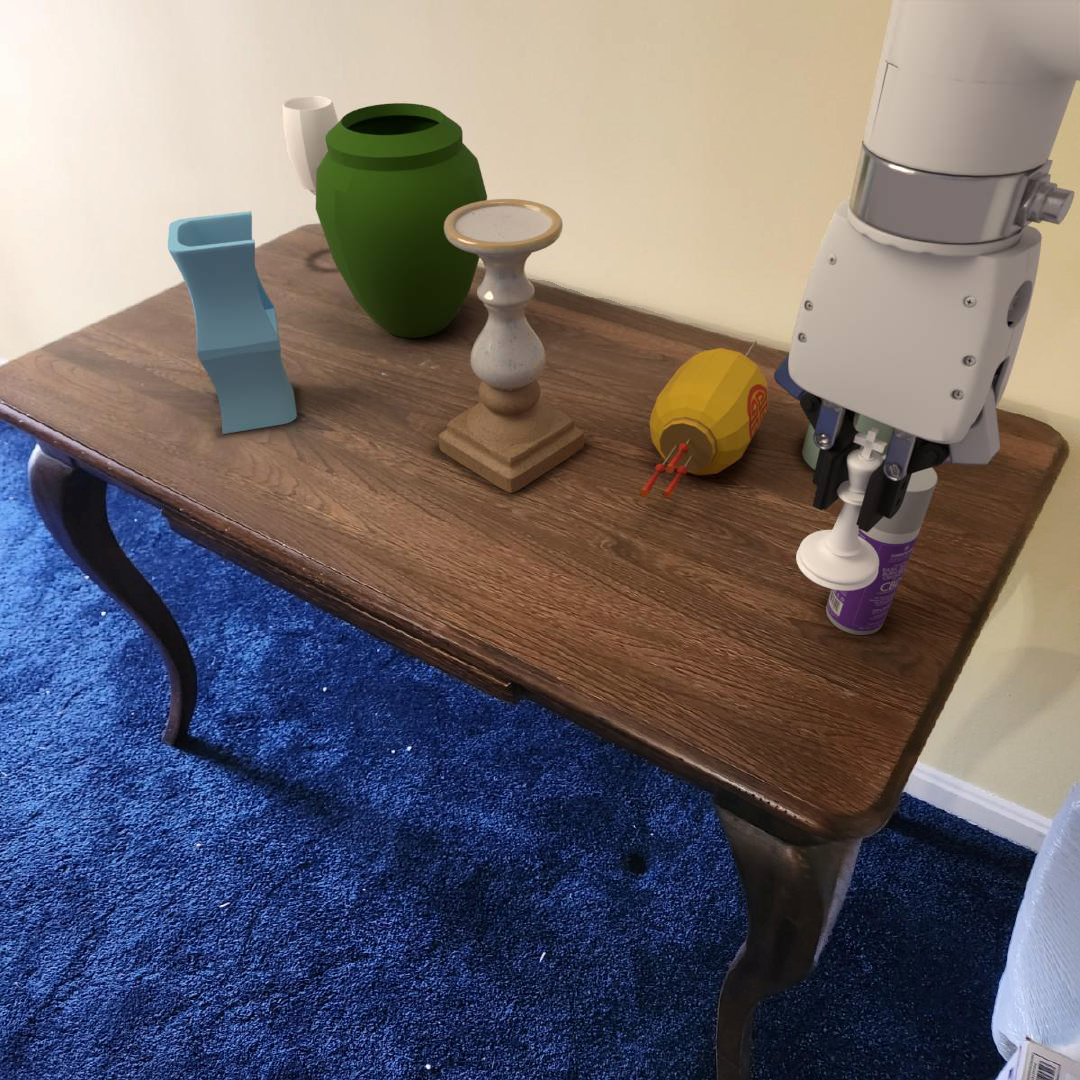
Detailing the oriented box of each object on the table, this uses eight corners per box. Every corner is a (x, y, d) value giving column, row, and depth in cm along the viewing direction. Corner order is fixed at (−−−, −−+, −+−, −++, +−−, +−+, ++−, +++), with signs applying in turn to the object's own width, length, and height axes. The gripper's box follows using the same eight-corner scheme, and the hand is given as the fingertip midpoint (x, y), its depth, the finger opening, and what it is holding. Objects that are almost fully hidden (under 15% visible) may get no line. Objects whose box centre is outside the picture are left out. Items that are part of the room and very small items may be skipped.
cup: (366, 250, 125) (343, 95, 111) (351, 272, 120) (326, 112, 106) (318, 247, 126) (289, 93, 112) (302, 269, 121) (269, 110, 107)
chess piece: (856, 603, 51) (898, 468, 44) (781, 567, 53) (811, 434, 47) (891, 559, 54) (936, 425, 47) (818, 526, 56) (852, 395, 49)
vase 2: (298, 422, 93) (255, 242, 79) (222, 434, 91) (166, 253, 78) (292, 384, 98) (251, 210, 85) (221, 395, 97) (168, 220, 83)
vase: (331, 299, 114) (294, 100, 97) (475, 280, 118) (463, 86, 101) (346, 374, 100) (306, 157, 84) (509, 350, 104) (501, 138, 87)
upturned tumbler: (855, 428, 91) (877, 353, 85) (898, 473, 86) (925, 396, 79) (787, 441, 90) (805, 365, 84) (826, 487, 84) (848, 410, 78)
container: (871, 644, 69) (926, 501, 59) (816, 618, 71) (860, 476, 61) (892, 610, 72) (948, 468, 62) (838, 586, 74) (885, 444, 64)
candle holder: (511, 495, 83) (501, 260, 67) (437, 449, 89) (411, 221, 73) (586, 446, 89) (594, 219, 73) (512, 406, 95) (504, 186, 79)
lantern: (700, 452, 70) (797, 298, 90) (594, 443, 75) (708, 299, 95) (712, 547, 76) (801, 384, 96) (613, 534, 81) (716, 381, 100)
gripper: (1165, 210, 36) (1014, 537, 48) (824, 134, 44) (770, 429, 57) (1102, 268, 32) (956, 609, 44) (741, 173, 41) (702, 481, 53)
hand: (852, 506), depth 50 cm, fingers closed on chess piece
